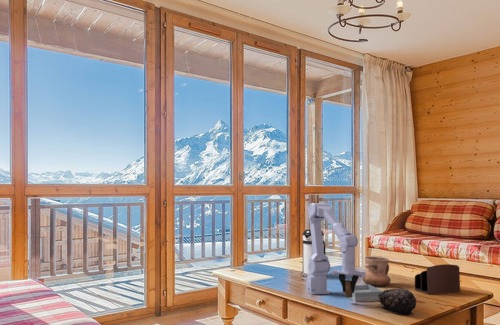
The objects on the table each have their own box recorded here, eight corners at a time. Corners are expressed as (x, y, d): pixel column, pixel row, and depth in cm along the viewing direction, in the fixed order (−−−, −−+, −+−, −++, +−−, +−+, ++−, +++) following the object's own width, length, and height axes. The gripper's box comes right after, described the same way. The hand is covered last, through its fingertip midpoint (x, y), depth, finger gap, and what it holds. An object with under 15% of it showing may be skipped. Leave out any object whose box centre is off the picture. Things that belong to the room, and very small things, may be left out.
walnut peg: (346, 297, 187) (346, 281, 187) (343, 295, 190) (343, 280, 191) (353, 297, 188) (353, 281, 188) (350, 295, 191) (350, 279, 191)
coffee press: (330, 279, 238) (329, 225, 240) (301, 278, 239) (301, 225, 241) (325, 273, 256) (325, 223, 258) (299, 272, 256) (298, 223, 258)
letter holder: (460, 292, 210) (459, 263, 211) (428, 295, 204) (427, 265, 205) (445, 287, 220) (445, 260, 221) (414, 290, 214) (413, 262, 214)
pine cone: (384, 304, 188) (384, 281, 188) (421, 314, 173) (420, 289, 174) (369, 308, 182) (369, 284, 182) (406, 318, 167) (406, 292, 168)
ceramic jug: (375, 289, 215) (375, 261, 216) (355, 283, 228) (355, 256, 229) (399, 286, 224) (399, 259, 225) (378, 280, 237) (378, 254, 238)
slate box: (355, 301, 191) (355, 292, 192) (342, 294, 205) (342, 285, 205) (383, 300, 194) (383, 291, 194) (369, 292, 208) (369, 284, 208)
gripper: (330, 261, 189) (330, 292, 188) (363, 264, 183) (364, 295, 182) (333, 259, 195) (333, 288, 195) (365, 261, 190) (366, 292, 189)
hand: (348, 292), depth 189 cm, fingers closed on walnut peg, 3 cm apart
